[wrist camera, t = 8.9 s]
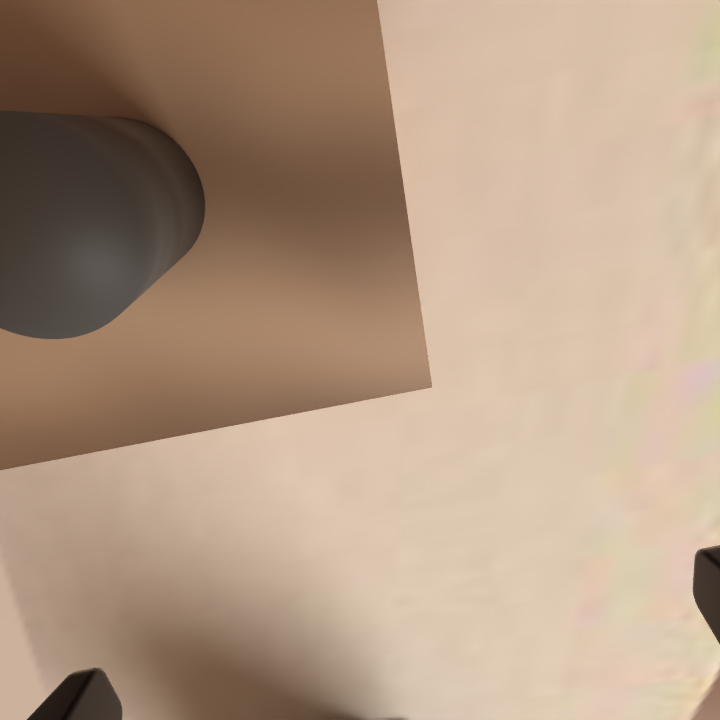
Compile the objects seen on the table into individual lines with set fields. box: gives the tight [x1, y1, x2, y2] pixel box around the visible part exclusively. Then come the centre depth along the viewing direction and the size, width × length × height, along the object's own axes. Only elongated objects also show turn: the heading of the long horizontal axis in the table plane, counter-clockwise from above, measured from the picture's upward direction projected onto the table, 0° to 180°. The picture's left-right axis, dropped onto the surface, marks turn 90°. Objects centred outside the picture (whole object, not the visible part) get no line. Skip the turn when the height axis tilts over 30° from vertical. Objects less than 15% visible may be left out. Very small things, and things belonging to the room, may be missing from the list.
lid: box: [0, 0, 432, 470], centre depth 9 cm, size 11×11×5 cm
